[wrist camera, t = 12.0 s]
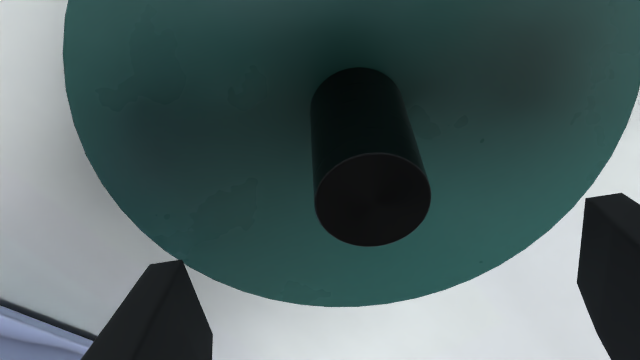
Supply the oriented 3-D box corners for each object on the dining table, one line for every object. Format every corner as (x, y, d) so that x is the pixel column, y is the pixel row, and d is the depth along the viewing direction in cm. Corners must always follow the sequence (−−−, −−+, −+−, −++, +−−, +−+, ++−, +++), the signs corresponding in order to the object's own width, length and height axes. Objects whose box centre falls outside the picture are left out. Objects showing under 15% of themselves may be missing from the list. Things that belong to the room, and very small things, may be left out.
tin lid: (-6, 151, 17) (-102, 278, 13) (271, -433, 11) (256, -556, 6) (392, 338, 22) (414, 472, 18) (744, 22, 16) (906, 118, 12)
